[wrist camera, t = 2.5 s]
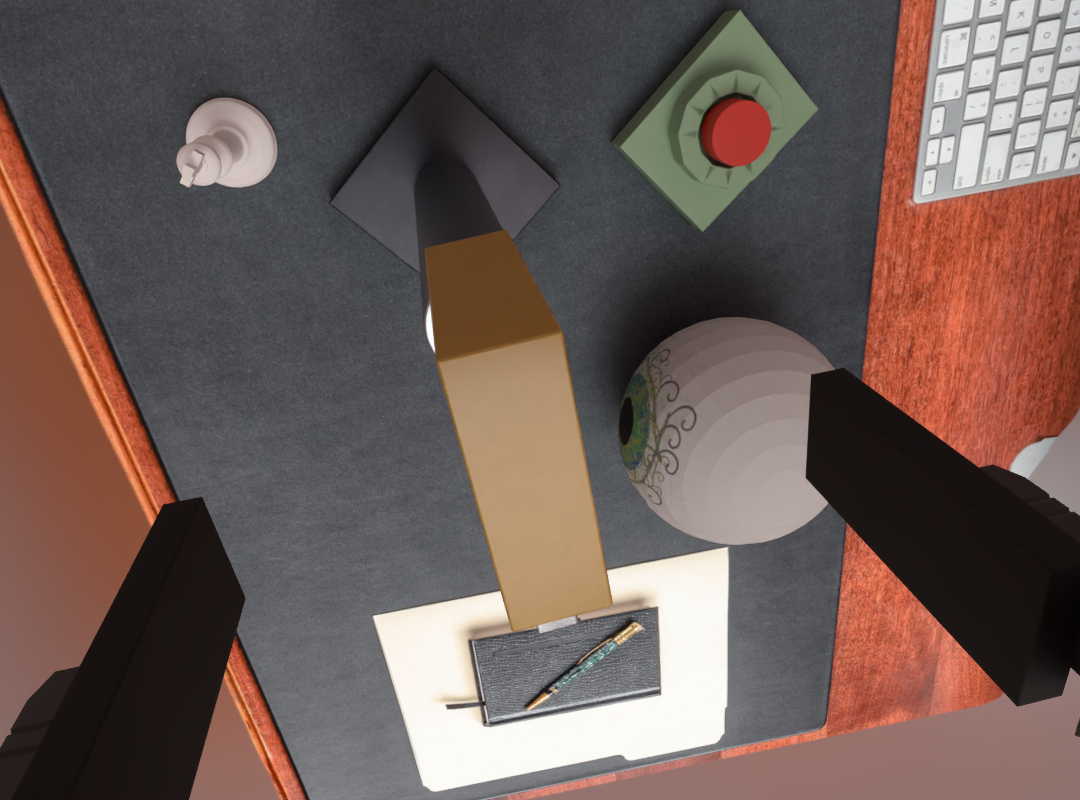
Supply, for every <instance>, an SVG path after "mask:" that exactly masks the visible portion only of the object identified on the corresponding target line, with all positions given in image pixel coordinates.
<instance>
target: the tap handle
mask: <svg viewBox="0 0 1080 800" xmlns="http://www.w3.org/2000/svg"><path fill="white" fill-rule="evenodd" d="M424 251H425V260H426V270H427V279H428V289H429V299H430V308H431V318H432V328H433V337H434V347H435V357H436V364H437V368H438V371H439V375H440V378H441V382H442V385H443V389H444V392H445V396H446V399H447V403H448V407H449V410H450V414H451V417H452V421H453V424H454V428H455V431H456V435H457V438H458V442H459V445H460V449H461V453H462V456H463V460H464V463H465V467H466V470H467V474H468V477H469V481H470V484H471V488H472V491H473V495H474V499H475V502H476V506H477V509H478V513H479V516H480V520H481V523H482V527H483V530H484V534H485V537H486V541H487V545H488V548H489V552H490V555H491V559H492V562H493V566H494V569H495V573H496V576H497V580H498V584H499V587H500V591H501V594H502V598H503V601H504V605H505V608H506V612H507V615H508V619H509V622H510V626H511V630H512V631H513V632H516V631H519V630H523V629H527V628H531V627H534V626H537V630H538V633H539V634H541V633H545V632H549V631H552V630H556V629H560V628H564V627H567V626H571V625H575V624H578V618H577V615H579V614H583V613H586V612H590V611H594V610H598V609H601V608H605V607H609V606H611V605H612V603H613V602H612V597H611V591H610V586H609V580H608V575H607V569H606V564H605V559H604V553H603V548H602V542H601V537H600V531H599V526H598V521H597V515H596V510H595V504H594V499H593V493H592V488H591V483H590V477H589V472H588V466H587V461H586V455H585V450H584V444H583V439H582V434H581V428H580V423H579V417H578V412H577V406H576V401H575V396H574V390H573V385H572V379H571V374H570V368H569V363H568V358H567V352H566V347H565V341H564V336H563V331H562V330H561V328H560V326H559V324H558V322H557V320H556V319H555V317H554V315H553V313H552V311H551V310H550V308H549V306H548V304H547V302H546V300H545V299H544V297H543V295H542V293H541V291H540V289H539V288H538V286H537V284H536V282H535V280H534V278H533V277H532V275H531V273H530V271H529V269H528V267H527V266H526V264H525V262H524V260H523V258H522V256H521V255H520V253H519V251H518V249H517V247H516V245H515V244H514V242H513V240H512V238H511V236H510V234H509V233H508V231H507V230H501V231H497V232H493V233H488V234H484V235H480V236H475V237H471V238H467V239H462V240H458V241H454V242H449V243H445V244H441V245H436V246H432V247H428V248H425V250H424Z"/></svg>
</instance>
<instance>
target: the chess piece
mask: <svg viewBox="0 0 1080 800" xmlns="http://www.w3.org/2000/svg"><path fill="white" fill-rule="evenodd" d="M276 158H277V140H276V136H275V133H274V131H273V129H272V127H271V125H270V123H269V122H268V120H267V119H266V118H265V117H264V115H263V114H262V113H261V112H260V111H258V110H257V109H256V108H255V107H253V106H251V105H250V104H248V103H246V102H244V101H241V100H238V99H234V98H216V99H212V100H210V101H207V102H205V103H204V104H202V105H201V106H200V107H198V108H197V109H196V111H195V112H194V113H193V115H192V116H191V118H190V120H189V122H188V125H187V129H186V145H185V146H183V147H182V148H181V149H180V151H179V152H178V155H177V167H178V169H179V172H180V173H181V175H182V179H181V181H180V183H181V184H183V185H185V186H187V187H191V186H192V184H195V185H199V186H206V185H210V184H212V183H214V182H216V183H219V184H221V185H224V186H228V187H246V186H251V185H254V184H256V183H258V182H260V181H262V180H263V179H264V178H266V177H267V176H268V174H269V173H270V172H271V170H272V169H273V167H274V165H275V162H276Z"/></svg>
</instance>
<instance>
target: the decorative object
mask: <svg viewBox="0 0 1080 800" xmlns="http://www.w3.org/2000/svg"><path fill="white" fill-rule="evenodd" d="M831 370H835V369H834V368H833V366H832V365H831V364H830V363H829V362H828V360H827V359H826V358H825V357H824V356H823V355H822V354H821V353H820V352H819V351H818V350H817V348H816V347H815V346H813V345H812V344H811V343H809V342H808V341H806V340H805V339H804V338H802V337H801V336H800V335H798V334H796V333H794V332H792V331H790V330H788V329H786V328H784V327H781V326H779V325H776V324H774V323H771V322H769V321H763V320H757V319H751V318H743V317H726V318H716V319H712V320H707V321H703V322H699V323H697V324H694V325H692V326H690V327H687V328H685V329H683V330H680V331H678V332H676V333H675V334H673V335H672V336H670V337H669V338H667V339H666V340H664V341H662V342H661V343H660V344H659V345H658V346H657V347H656V348H655V349H654V350H652V351H651V352H650V353H649V354H648V355H647V357H646V358H645V359H644V361H643V362H642V363H641V364H640V366H639V367H638V368H637V370H636V371H635V373H634V375H633V377H632V378H631V380H630V382H629V384H628V386H627V388H626V390H625V394H624V397H623V401H622V404H621V407H620V419H619V435H618V436H619V443H620V450H621V455H622V458H623V461H624V465H625V467H626V470H627V472H628V475H629V477H630V480H631V482H632V484H633V485H634V487H635V488H636V489H637V491H638V492H639V494H640V495H641V496H642V498H643V499H644V500H645V502H646V503H647V504H648V506H649V507H650V508H651V509H652V510H653V511H654V512H656V513H657V514H658V515H659V516H660V517H661V518H663V519H664V520H665V521H667V522H668V523H669V524H671V525H672V526H673V527H675V528H677V529H679V530H681V531H683V532H685V533H687V534H689V535H691V536H694V537H697V538H700V539H704V540H707V541H711V542H715V543H719V544H732V545H738V544H751V543H761V542H765V541H769V540H773V539H777V538H779V537H782V536H784V535H786V534H789V533H791V532H793V531H795V530H796V529H798V528H800V527H801V526H803V525H805V524H806V523H808V522H809V521H810V520H811V519H812V518H814V517H815V516H816V515H817V514H819V513H820V512H821V511H822V509H823V508H824V507H825V506H826V505H827V504H828V502H827V501H826V500H825V498H824V497H823V496H822V495H821V494H820V493H819V492H818V491H817V490H816V489H815V488H814V487H813V485H812V484H811V483H810V482H809V481H808V480H807V479H806V478H805V477H806V459H807V440H808V421H809V402H810V383H811V374H816V373H821V372H826V371H831Z"/></svg>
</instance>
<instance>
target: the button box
mask: <svg viewBox="0 0 1080 800" xmlns="http://www.w3.org/2000/svg"><path fill="white" fill-rule="evenodd" d="M729 98H739V99H744V100H750V101H754V102H756V103H758V104H760V105H761V106H762V107H763V108H764V109H765V110H766V111H767V113H768V115H769V118H770V122H771V135H770V139H769V142H768V145H767V147H766V149H765V150H764V152H763V153H762V154H761V155H760V156H759V157H758V158H757V159H756V160H754V161H753V162H751V163H749V164H747V165H744V166H730V165H727V164H724V163H722V162H719V161H717V160H715V159H713V158H712V157H710V156H709V155H708V154H707V152H706V151H705V149H704V147H703V144H702V139H701V130H702V125H703V122H704V119H705V117H706V116H707V114H708V112H709V111H710V110H711V109H712V108H713V107H714V106H715V105H716V104H717V103H719V102H721V101H723V100H725V99H729ZM817 110H818V108H817V107H816V106H815V104H814V103H813V102H812V101H811V99H810V98H809V97H808V95H807V94H806V93H805V92H804V90H803V89H802V88H801V87H800V85H799V84H798V83H797V81H796V80H795V79H794V78H793V76H792V75H791V74H790V73H789V71H788V70H787V69H786V68H785V66H784V65H783V64H782V62H781V61H780V60H779V59H778V57H777V56H776V55H775V54H774V52H773V51H772V50H771V48H770V47H769V46H768V45H767V43H766V42H765V41H764V40H763V38H762V37H761V36H760V34H759V33H758V32H757V31H756V29H755V28H754V27H753V26H752V24H751V23H750V22H749V21H748V19H747V18H746V17H745V15H744V14H743V13H742V12H741V10H734V11H725V12H724V13H723V14H722V15H721V16H720V18H719V19H718V20H717V21H716V22H715V23H714V24H713V26H712V27H711V28H710V29H709V30H708V31H707V32H706V34H705V35H704V36H703V37H702V38H701V39H700V41H699V42H698V43H697V44H696V45H695V46H694V47H693V49H692V50H691V51H690V52H689V53H688V54H687V56H686V57H685V58H684V59H683V60H682V61H681V62H680V64H679V65H678V66H677V67H676V68H675V69H674V70H673V72H672V73H671V74H670V75H669V76H668V77H667V79H666V80H665V81H664V82H663V83H662V84H661V85H660V87H659V88H658V89H657V90H656V91H655V92H654V93H653V95H652V96H651V97H650V98H649V99H648V100H647V102H646V103H645V104H644V105H643V106H642V107H641V108H640V110H639V111H638V112H637V113H636V114H635V115H634V116H633V118H632V119H631V120H630V121H629V122H628V123H627V125H626V126H625V127H624V128H623V129H622V130H621V131H620V133H619V134H618V135H617V136H616V137H615V138H614V139H613V141H612V142H611V144H612V145H613V146H614V147H615V148H616V149H617V150H618V151H619V152H620V153H621V154H622V155H623V156H624V157H625V158H626V159H627V160H628V161H629V162H630V163H631V164H632V165H633V166H634V167H635V168H636V169H637V170H638V171H639V172H640V173H641V174H642V175H643V176H644V177H645V178H646V179H647V180H648V181H649V182H650V183H651V184H652V185H653V186H654V187H655V188H656V189H657V190H658V191H659V192H660V193H661V194H662V195H663V196H664V197H665V199H666V200H667V201H668V202H669V203H670V204H671V205H672V206H673V207H674V208H675V209H676V210H677V211H678V212H679V213H680V214H681V215H682V216H683V217H684V218H685V219H686V220H687V221H688V222H689V223H690V224H691V225H693V226H694V227H696V228H697V229H699V230H701V231H702V232H703V231H704V230H705V229H706V228H707V227H708V226H709V225H710V224H711V223H712V222H713V221H714V220H715V219H716V217H717V216H718V215H719V214H720V213H721V212H722V211H723V210H724V209H725V208H726V207H727V206H728V205H729V204H730V203H731V202H732V200H733V199H734V198H735V197H736V196H737V195H738V194H739V193H740V192H741V191H742V190H743V189H744V188H745V187H746V186H747V185H748V183H749V182H750V181H752V180H754V179H755V178H756V177H757V176H758V175H759V174H760V173H761V172H762V171H763V170H764V169H765V168H766V166H767V165H768V164H769V163H770V162H771V161H772V160H773V159H774V157H775V156H776V154H777V153H778V152H779V151H780V149H781V148H782V147H783V146H784V145H785V144H786V143H787V142H788V141H789V140H790V139H791V138H792V137H793V136H794V135H795V134H796V132H797V131H798V130H799V129H800V128H801V127H802V126H803V125H804V124H805V123H806V122H807V121H808V120H809V119H810V118H811V117H812V115H813V114H814V113H815V112H816V111H817Z"/></svg>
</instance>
